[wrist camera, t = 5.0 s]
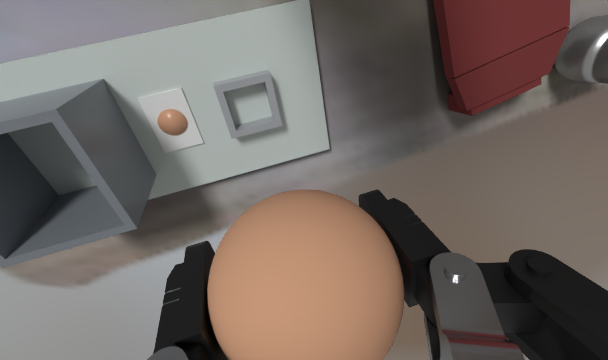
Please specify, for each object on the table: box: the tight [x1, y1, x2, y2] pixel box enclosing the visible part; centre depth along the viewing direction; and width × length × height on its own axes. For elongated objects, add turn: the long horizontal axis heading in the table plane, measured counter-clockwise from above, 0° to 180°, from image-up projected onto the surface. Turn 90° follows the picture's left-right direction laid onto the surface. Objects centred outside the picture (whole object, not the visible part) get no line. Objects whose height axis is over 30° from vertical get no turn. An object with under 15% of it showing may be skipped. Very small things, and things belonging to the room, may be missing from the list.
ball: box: [207, 190, 404, 360], centre depth 9 cm, size 6×6×6 cm
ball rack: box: [0, 0, 330, 268], centre depth 22 cm, size 29×14×9 cm, turn 100°
